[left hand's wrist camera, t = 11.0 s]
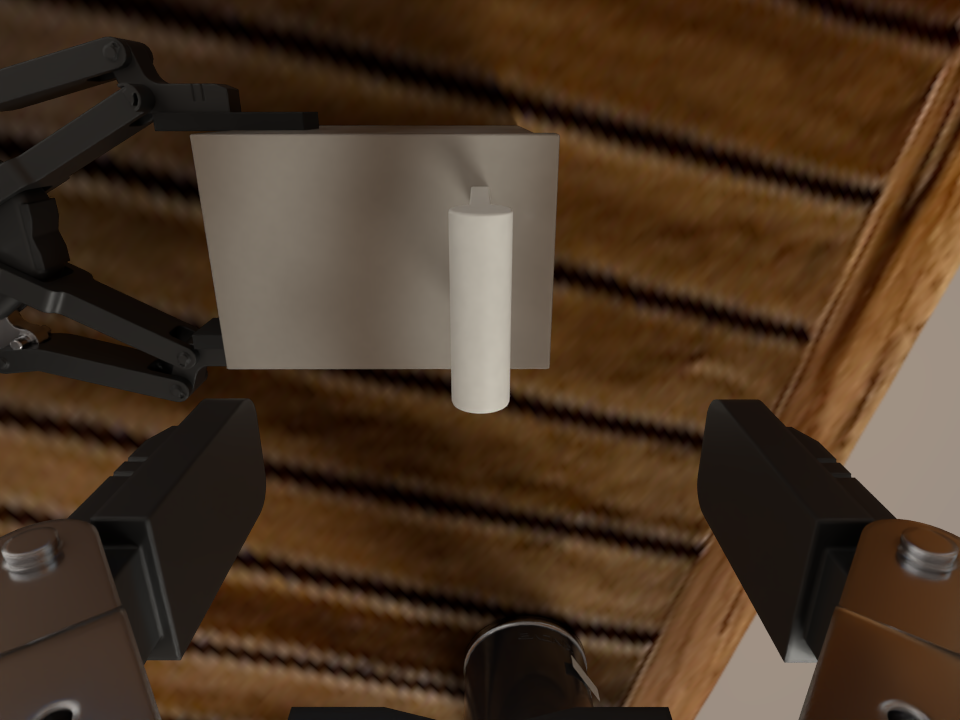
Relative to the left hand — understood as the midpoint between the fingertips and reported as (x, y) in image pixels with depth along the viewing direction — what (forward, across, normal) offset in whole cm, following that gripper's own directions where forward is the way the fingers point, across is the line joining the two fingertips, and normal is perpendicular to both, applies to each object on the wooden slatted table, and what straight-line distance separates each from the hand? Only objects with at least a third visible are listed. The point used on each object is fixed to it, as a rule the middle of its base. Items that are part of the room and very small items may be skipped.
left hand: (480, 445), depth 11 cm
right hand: (+21, +8, 0) cm, 22 cm away
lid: (+16, +4, 0) cm, 17 cm away
